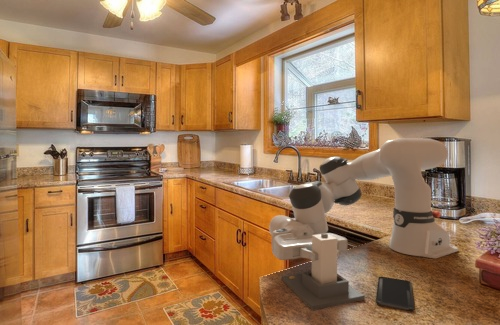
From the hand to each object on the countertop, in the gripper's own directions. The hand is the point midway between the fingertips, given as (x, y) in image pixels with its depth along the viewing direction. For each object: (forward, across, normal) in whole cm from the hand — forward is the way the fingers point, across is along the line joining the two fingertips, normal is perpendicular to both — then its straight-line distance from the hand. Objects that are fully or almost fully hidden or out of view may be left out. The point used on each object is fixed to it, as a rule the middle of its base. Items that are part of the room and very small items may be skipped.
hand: (326, 256), depth 72 cm
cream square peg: (-1, 0, -6) cm, 7 cm away
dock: (-3, 0, -10) cm, 10 cm away
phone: (+5, -16, -10) cm, 20 cm away
